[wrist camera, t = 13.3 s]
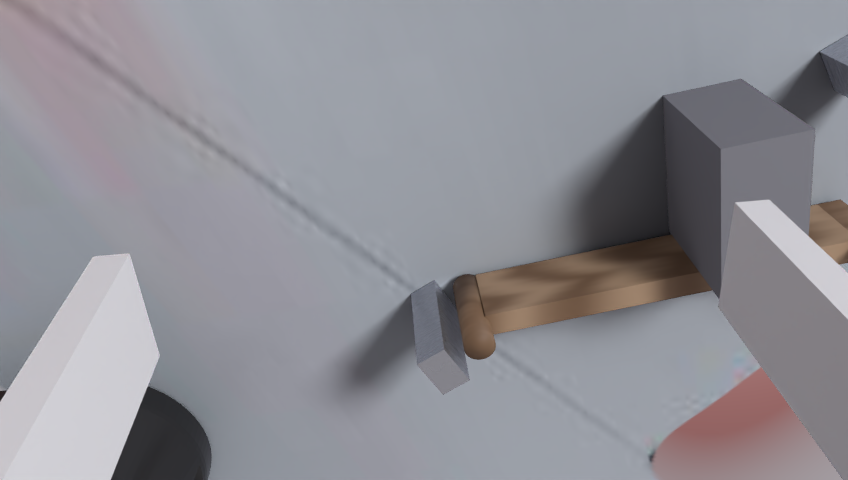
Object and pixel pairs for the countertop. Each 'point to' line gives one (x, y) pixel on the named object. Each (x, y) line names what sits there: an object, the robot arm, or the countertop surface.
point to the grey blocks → (439, 316)
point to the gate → (600, 282)
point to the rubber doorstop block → (731, 166)
